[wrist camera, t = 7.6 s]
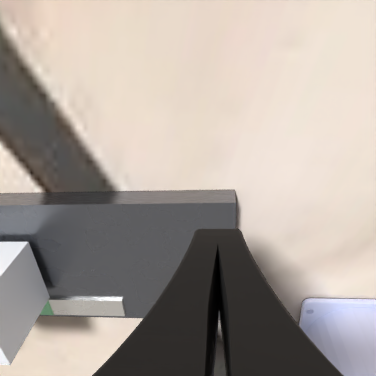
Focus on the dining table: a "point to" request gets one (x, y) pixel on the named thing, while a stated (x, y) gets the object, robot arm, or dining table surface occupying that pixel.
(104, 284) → the gauge base
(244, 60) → the dining table surface
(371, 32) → the dining table surface
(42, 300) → the white rectangular block
